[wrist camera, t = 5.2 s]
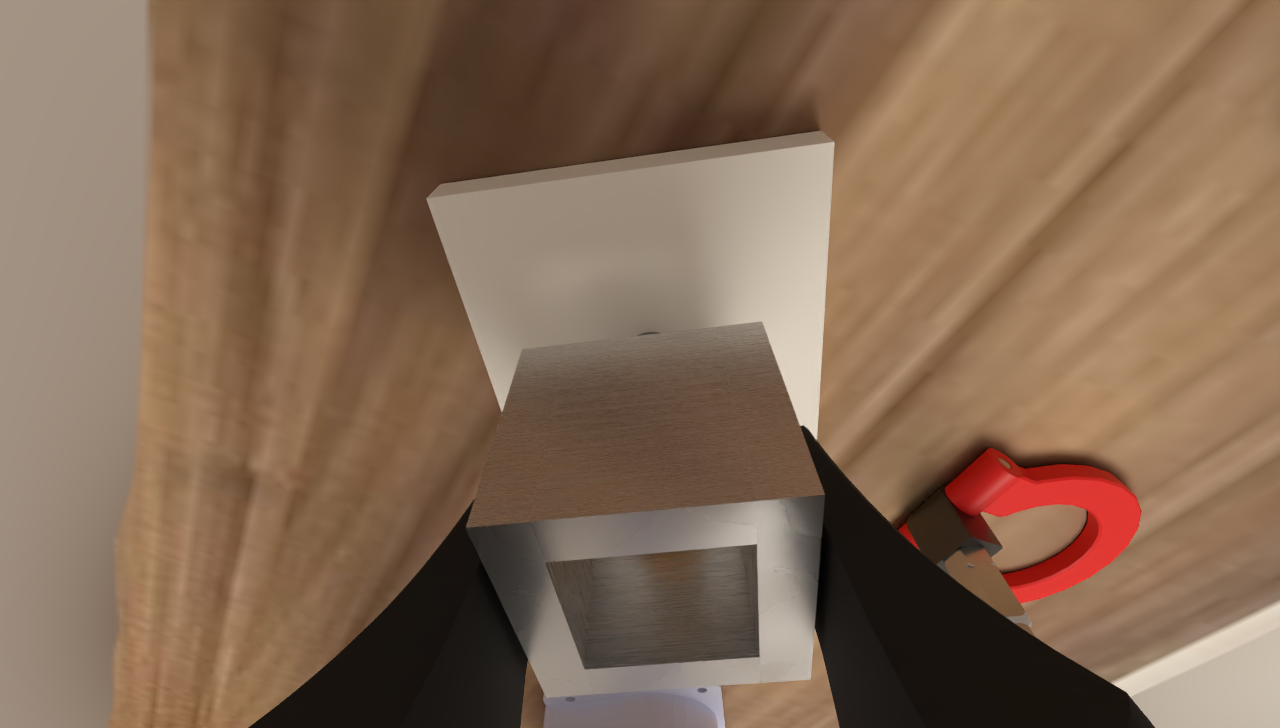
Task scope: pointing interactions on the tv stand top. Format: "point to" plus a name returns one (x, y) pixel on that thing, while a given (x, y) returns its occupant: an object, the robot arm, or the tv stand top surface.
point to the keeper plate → (649, 252)
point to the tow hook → (1003, 488)
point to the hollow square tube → (653, 514)
